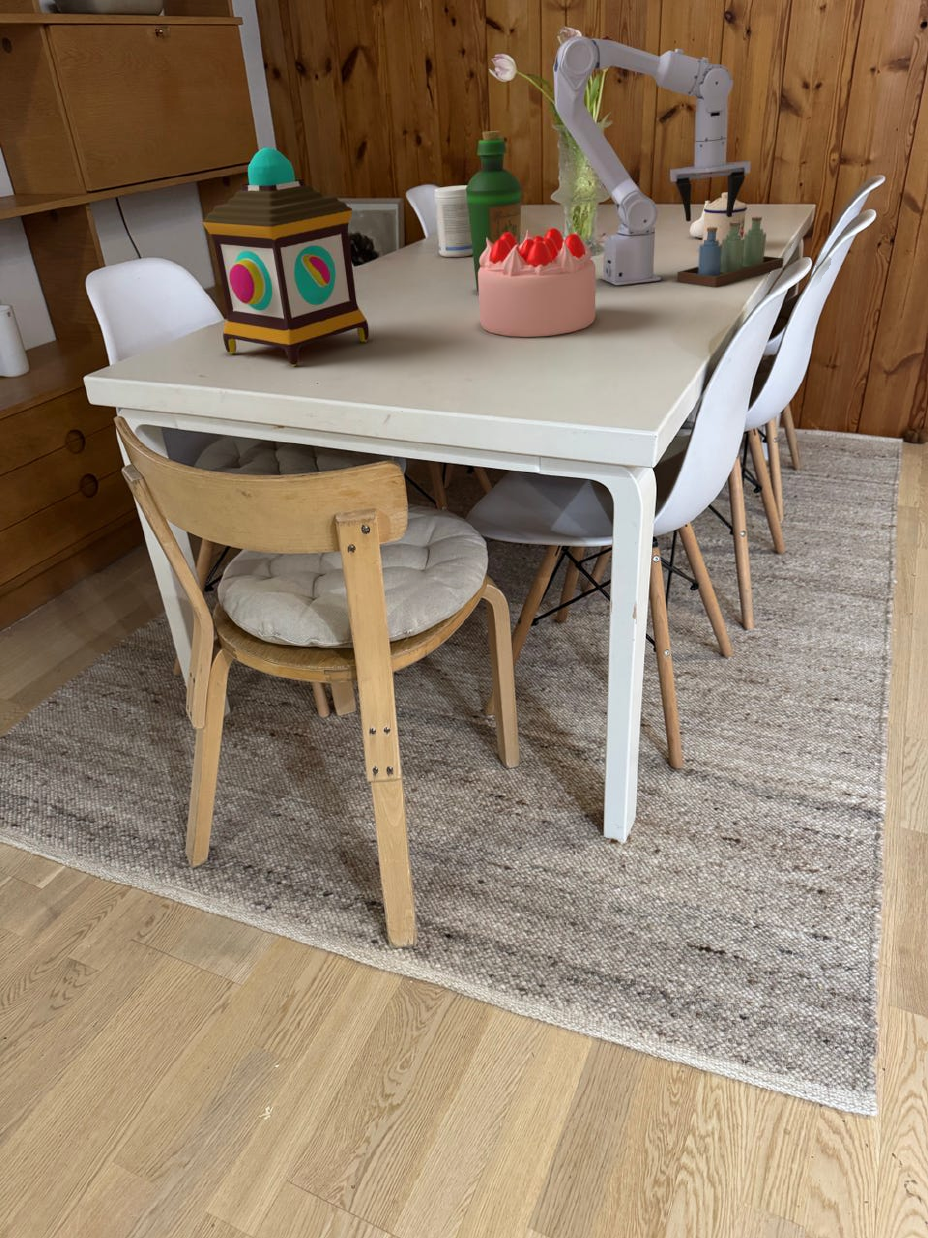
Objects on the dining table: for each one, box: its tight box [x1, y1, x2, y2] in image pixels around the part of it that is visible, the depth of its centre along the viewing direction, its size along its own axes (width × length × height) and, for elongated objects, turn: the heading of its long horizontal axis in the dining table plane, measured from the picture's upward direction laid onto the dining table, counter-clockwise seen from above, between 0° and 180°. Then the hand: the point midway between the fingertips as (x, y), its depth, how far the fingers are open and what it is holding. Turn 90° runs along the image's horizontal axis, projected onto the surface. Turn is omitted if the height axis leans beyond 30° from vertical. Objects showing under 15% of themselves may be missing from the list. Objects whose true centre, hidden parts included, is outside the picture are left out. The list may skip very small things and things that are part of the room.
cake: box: [478, 227, 597, 338], centre depth 152 cm, size 20×20×14 cm
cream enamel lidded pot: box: [702, 191, 748, 244], centre depth 199 cm, size 12×9×12 cm
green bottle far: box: [742, 215, 767, 267], centre depth 180 cm, size 4×4×9 cm
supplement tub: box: [434, 184, 473, 258], centre depth 214 cm, size 10×10×15 cm
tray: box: [676, 255, 785, 288], centre depth 178 cm, size 21×9×2 cm, turn 129°
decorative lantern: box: [202, 146, 370, 367], centre depth 144 cm, size 20×20×30 cm
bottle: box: [466, 130, 522, 293], centre depth 172 cm, size 11×11×28 cm
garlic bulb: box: [689, 200, 711, 239], centre depth 214 cm, size 6×6×8 cm
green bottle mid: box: [720, 222, 745, 273], centre depth 176 cm, size 4×4×9 cm
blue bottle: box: [697, 227, 722, 276], centre depth 172 cm, size 4×4×9 cm
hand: (708, 218), depth 174 cm, fingers open, 7 cm apart
